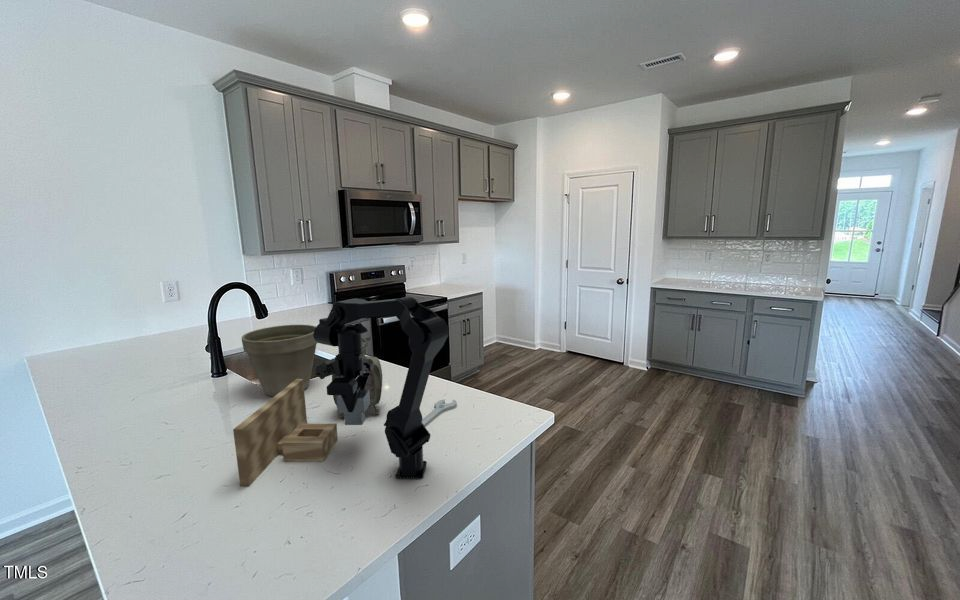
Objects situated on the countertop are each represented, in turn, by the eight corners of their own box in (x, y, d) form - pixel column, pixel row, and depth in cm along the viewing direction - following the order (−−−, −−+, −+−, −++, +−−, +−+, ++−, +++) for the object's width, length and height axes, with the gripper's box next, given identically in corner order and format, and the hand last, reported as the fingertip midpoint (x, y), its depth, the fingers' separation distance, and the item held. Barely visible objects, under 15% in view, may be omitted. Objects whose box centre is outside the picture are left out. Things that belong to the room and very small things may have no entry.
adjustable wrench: (410, 441, 110) (410, 435, 110) (393, 435, 114) (393, 429, 113) (459, 405, 132) (459, 400, 131) (443, 401, 135) (443, 396, 135)
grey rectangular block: (365, 427, 101) (363, 398, 99) (338, 427, 101) (336, 397, 100) (370, 417, 106) (369, 389, 105) (345, 417, 106) (343, 389, 105)
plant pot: (252, 382, 152) (246, 327, 148) (321, 372, 162) (317, 320, 158) (243, 408, 130) (236, 344, 126) (324, 395, 139) (319, 336, 136)
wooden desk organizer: (305, 486, 90) (300, 429, 88) (240, 486, 90) (233, 429, 88) (349, 422, 120) (346, 378, 117) (300, 422, 120) (296, 378, 117)
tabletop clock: (334, 421, 121) (328, 341, 116) (338, 408, 130) (333, 334, 125) (383, 416, 124) (379, 339, 119) (384, 404, 132) (380, 331, 128)
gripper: (332, 338, 109) (336, 392, 112) (301, 361, 91) (307, 424, 94) (373, 338, 109) (375, 392, 112) (350, 361, 91) (354, 424, 94)
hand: (354, 406), depth 103 cm, fingers closed on grey rectangular block, 5 cm apart
